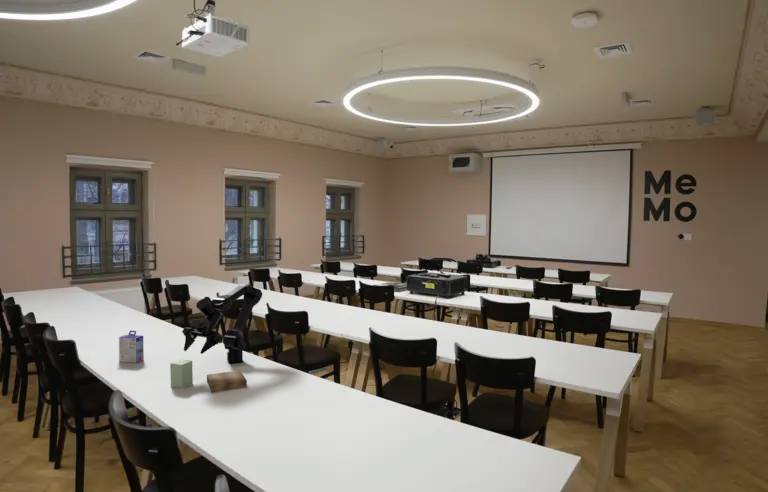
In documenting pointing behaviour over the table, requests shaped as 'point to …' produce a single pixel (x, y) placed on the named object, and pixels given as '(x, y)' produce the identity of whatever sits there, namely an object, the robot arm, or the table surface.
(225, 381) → the walnut plinth
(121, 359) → the ink cartridge box
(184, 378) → the sage block
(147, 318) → the table surface
